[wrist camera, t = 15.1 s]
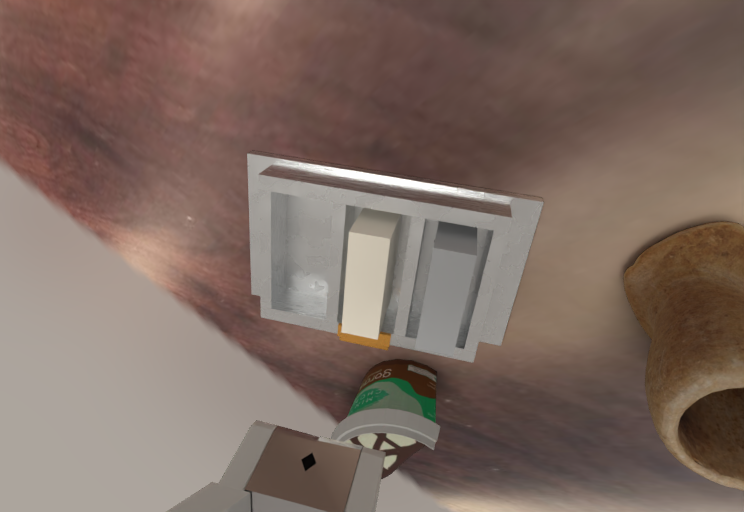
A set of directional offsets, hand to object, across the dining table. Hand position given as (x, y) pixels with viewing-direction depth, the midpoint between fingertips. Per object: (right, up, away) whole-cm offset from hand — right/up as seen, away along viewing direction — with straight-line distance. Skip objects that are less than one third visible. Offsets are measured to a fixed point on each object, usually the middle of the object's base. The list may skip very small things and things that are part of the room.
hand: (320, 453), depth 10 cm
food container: (+3, -8, +38) cm, 39 cm away
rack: (+2, +5, +30) cm, 31 cm away
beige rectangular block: (+2, +5, +30) cm, 30 cm away
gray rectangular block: (+8, +3, +29) cm, 30 cm away
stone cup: (+27, 0, +27) cm, 39 cm away
